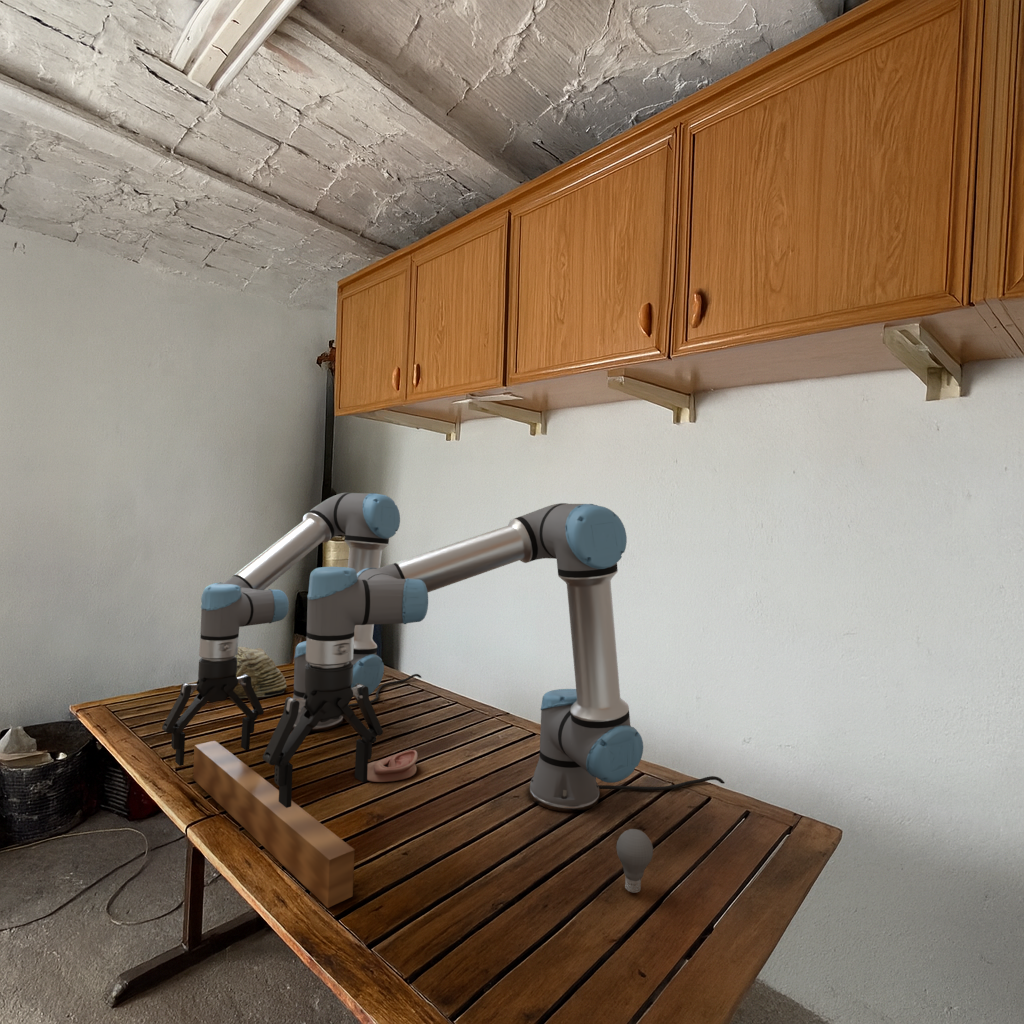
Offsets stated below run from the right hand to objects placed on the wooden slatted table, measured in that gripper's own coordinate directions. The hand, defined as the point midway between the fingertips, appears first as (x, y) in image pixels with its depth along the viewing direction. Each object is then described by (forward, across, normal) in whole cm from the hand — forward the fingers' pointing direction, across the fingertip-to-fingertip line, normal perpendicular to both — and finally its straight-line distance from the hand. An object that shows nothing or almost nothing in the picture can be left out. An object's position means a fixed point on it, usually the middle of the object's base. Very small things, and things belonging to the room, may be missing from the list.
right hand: (324, 791), depth 104 cm
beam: (+15, 0, +23) cm, 28 cm away
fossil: (+15, +32, +101) cm, 107 cm away
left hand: (+9, 0, +46) cm, 47 cm away
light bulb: (+15, +37, -36) cm, 54 cm away
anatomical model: (+15, +32, +28) cm, 45 cm away
